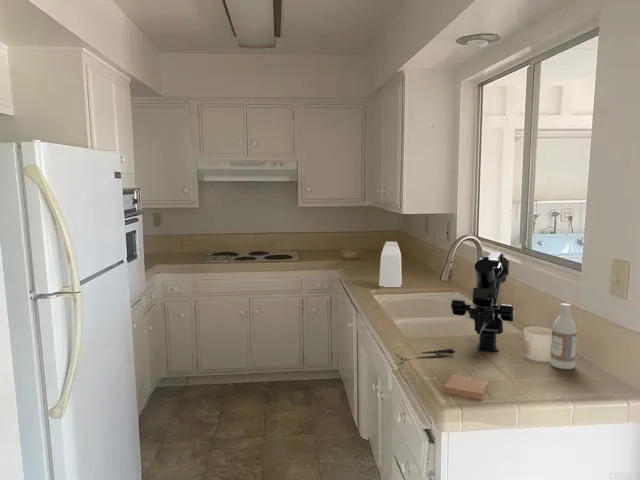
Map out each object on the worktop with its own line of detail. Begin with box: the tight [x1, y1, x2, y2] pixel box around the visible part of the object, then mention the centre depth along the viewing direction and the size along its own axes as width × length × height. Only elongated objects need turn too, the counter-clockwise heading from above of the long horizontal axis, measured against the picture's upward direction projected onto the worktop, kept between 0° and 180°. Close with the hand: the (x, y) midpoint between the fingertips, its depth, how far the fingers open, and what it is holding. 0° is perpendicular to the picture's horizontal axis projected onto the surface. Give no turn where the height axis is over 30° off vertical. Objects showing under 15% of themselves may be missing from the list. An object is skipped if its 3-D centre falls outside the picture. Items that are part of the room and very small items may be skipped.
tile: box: [444, 374, 489, 401], centre depth 137 cm, size 2×10×10 cm
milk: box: [378, 241, 403, 287], centre depth 274 cm, size 12×12×26 cm
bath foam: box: [550, 302, 578, 370], centre depth 155 cm, size 7×7×20 cm
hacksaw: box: [394, 348, 456, 365], centre depth 163 cm, size 24×10×1 cm, turn 97°
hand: (478, 333), depth 151 cm, fingers closed
